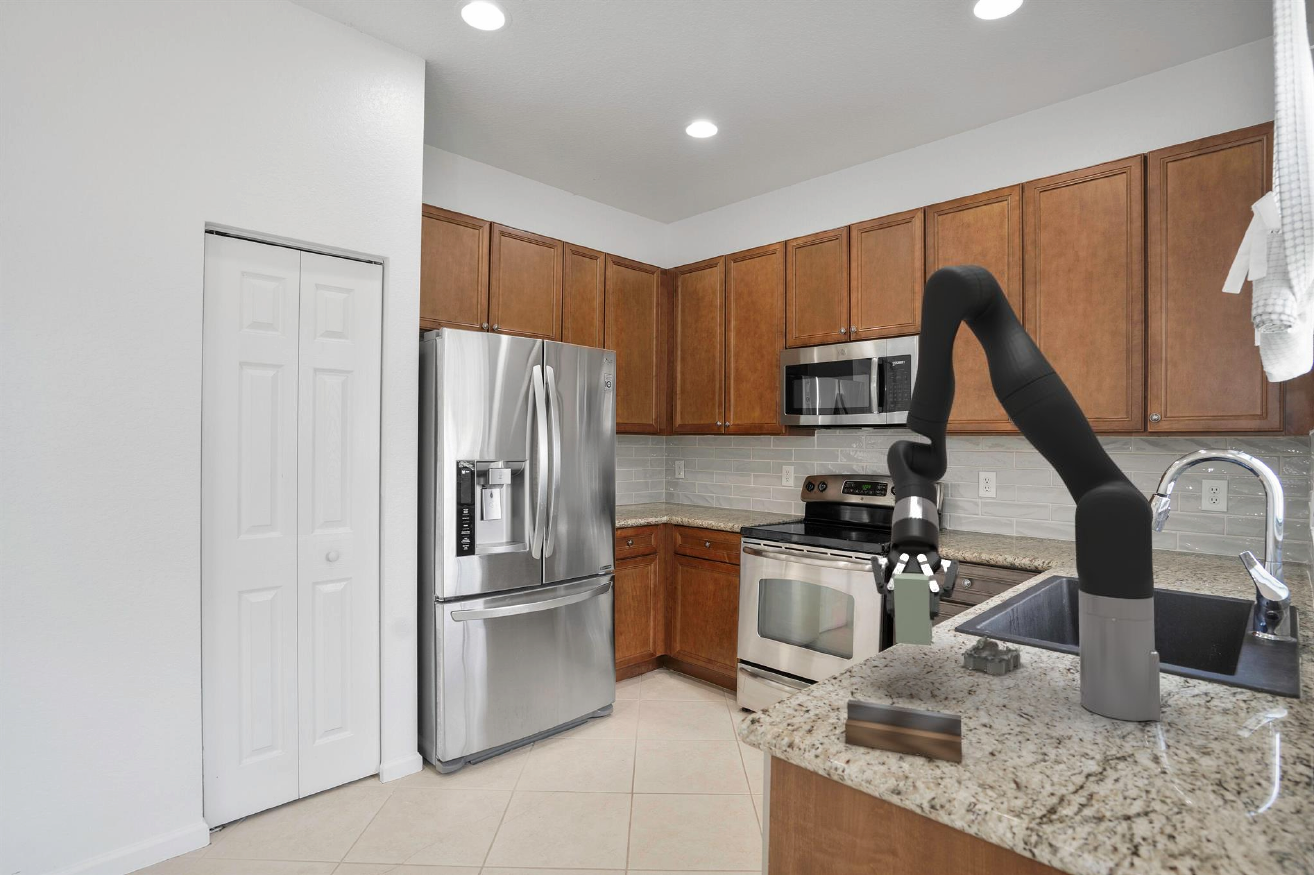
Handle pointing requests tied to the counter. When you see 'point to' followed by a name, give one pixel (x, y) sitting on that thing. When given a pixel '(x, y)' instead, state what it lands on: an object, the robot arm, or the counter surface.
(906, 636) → the green block
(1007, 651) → the grey scalloped block
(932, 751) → the dock
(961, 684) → the counter surface
